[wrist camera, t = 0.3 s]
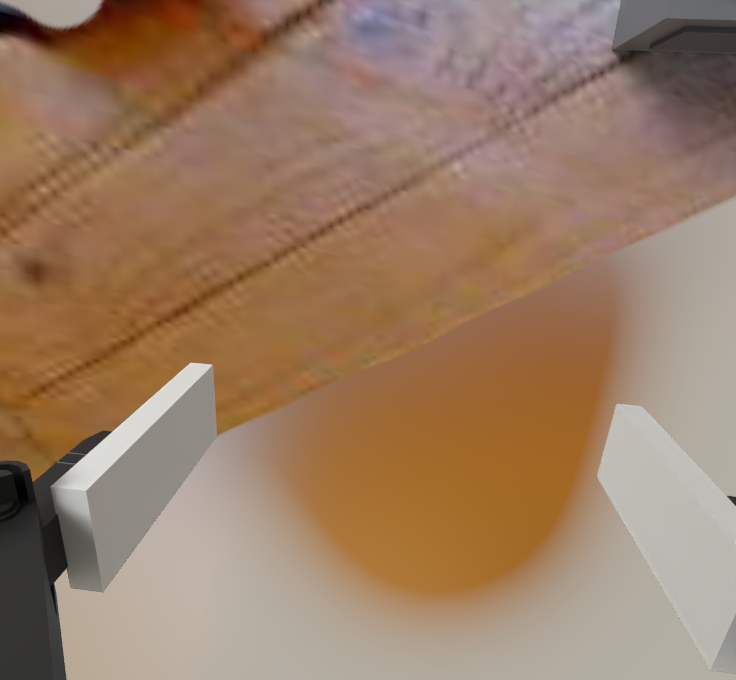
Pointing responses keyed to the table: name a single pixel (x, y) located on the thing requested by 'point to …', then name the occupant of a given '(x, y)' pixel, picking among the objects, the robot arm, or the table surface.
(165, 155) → the table surface
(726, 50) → the grey box with knob
